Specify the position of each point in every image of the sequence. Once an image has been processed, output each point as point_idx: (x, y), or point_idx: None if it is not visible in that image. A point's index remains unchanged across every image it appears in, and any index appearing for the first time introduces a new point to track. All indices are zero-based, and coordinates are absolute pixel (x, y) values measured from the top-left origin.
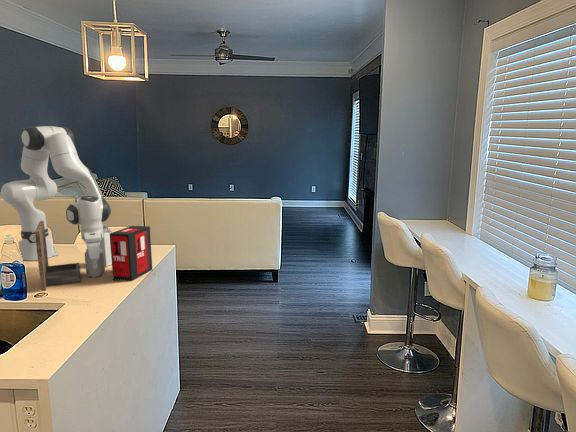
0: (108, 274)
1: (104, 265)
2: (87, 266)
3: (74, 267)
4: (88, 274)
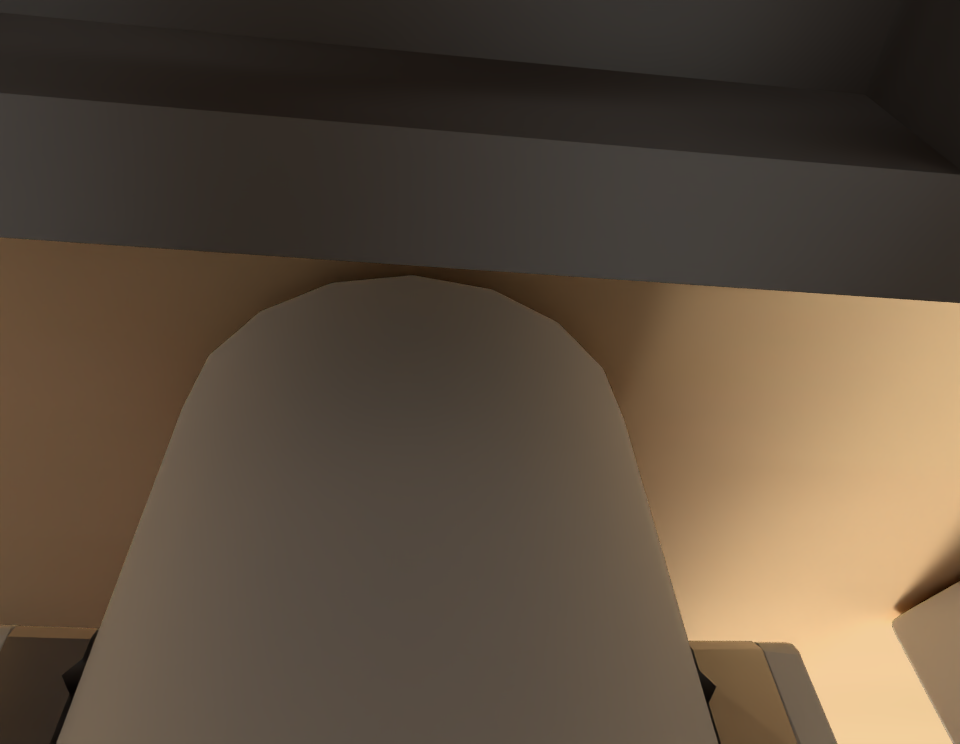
0: None
1: (941, 624)
2: (205, 516)
3: (918, 17)
4: (253, 335)
